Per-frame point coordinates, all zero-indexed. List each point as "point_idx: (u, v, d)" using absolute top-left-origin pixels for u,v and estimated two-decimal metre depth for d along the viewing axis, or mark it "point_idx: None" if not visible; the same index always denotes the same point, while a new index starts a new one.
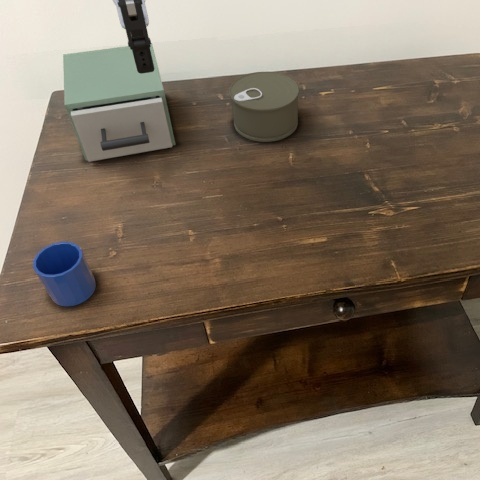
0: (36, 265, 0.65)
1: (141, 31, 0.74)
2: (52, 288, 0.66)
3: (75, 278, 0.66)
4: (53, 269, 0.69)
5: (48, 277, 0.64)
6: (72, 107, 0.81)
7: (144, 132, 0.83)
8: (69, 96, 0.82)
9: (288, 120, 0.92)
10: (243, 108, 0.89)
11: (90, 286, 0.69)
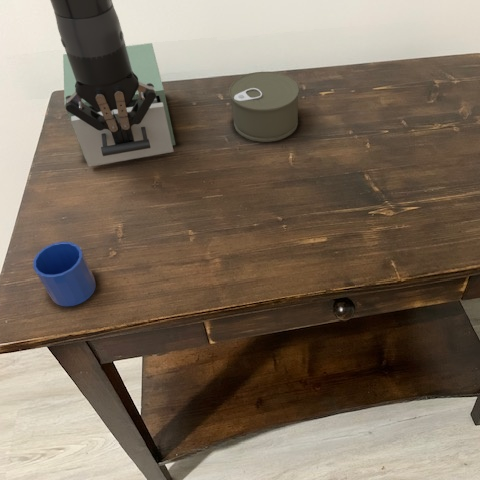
0: (36, 265, 0.65)
1: None
2: (52, 288, 0.66)
3: (75, 278, 0.66)
4: (53, 269, 0.69)
5: (48, 277, 0.64)
6: None
7: (145, 137, 0.82)
8: None
9: (288, 120, 0.92)
10: (243, 108, 0.89)
11: (90, 286, 0.69)
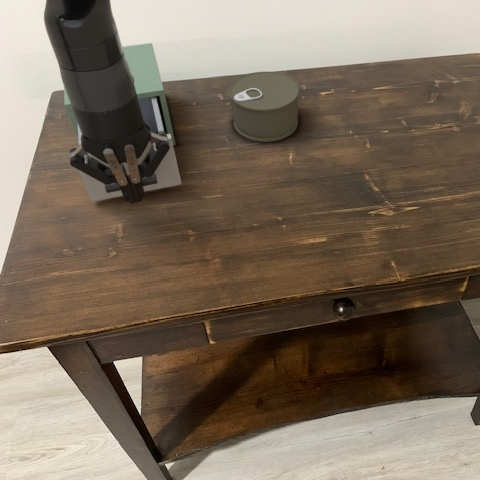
0: None
1: None
2: None
3: None
4: None
5: None
6: None
7: None
8: None
9: (288, 120, 0.92)
10: (243, 108, 0.89)
11: None
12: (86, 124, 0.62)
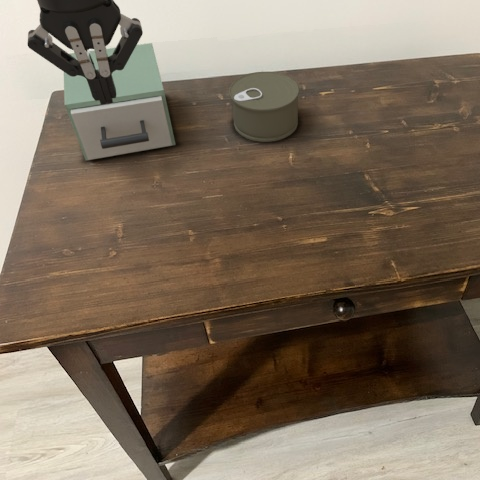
0: None
1: None
2: None
3: None
4: None
5: (110, 103, 0.85)
6: (72, 107, 0.81)
7: (144, 130, 0.83)
8: (69, 96, 0.82)
9: (288, 120, 0.92)
10: (243, 108, 0.89)
11: None
12: None
